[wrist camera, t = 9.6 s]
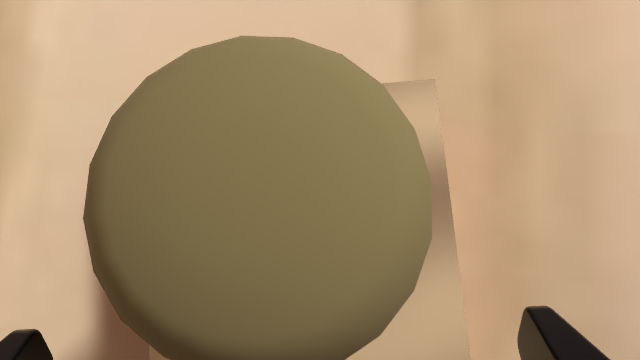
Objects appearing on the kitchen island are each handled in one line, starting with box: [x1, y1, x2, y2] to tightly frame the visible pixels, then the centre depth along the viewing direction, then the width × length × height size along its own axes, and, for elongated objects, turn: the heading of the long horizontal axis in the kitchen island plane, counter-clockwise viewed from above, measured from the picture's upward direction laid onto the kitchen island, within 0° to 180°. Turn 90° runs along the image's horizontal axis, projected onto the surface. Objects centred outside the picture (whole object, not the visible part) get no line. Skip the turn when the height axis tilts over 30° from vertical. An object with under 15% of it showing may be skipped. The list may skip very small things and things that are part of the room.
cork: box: [83, 36, 433, 360], centre depth 12 cm, size 6×6×11 cm
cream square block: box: [149, 79, 471, 360], centre depth 20 cm, size 10×10×4 cm
